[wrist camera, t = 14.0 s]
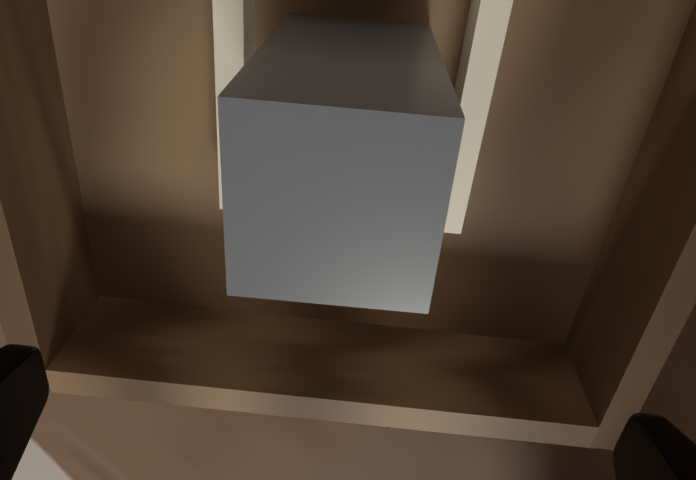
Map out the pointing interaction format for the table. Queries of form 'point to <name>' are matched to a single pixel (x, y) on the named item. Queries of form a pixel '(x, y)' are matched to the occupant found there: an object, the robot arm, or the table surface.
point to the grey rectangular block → (338, 164)
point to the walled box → (458, 239)
